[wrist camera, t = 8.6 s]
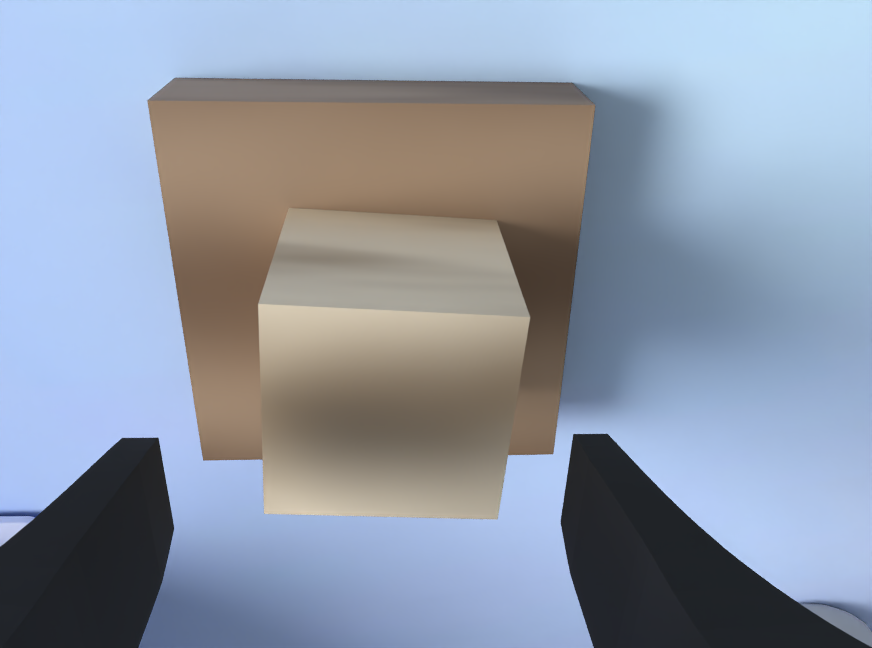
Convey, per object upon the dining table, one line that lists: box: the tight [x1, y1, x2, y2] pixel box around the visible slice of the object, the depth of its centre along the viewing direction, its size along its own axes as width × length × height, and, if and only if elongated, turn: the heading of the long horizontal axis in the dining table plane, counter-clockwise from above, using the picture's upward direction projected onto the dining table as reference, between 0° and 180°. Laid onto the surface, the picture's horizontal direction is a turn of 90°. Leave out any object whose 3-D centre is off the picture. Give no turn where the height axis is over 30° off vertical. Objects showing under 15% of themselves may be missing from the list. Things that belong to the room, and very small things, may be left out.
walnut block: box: [147, 78, 595, 460], centre depth 21 cm, size 10×10×3 cm
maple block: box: [258, 208, 530, 519], centre depth 17 cm, size 5×5×5 cm
